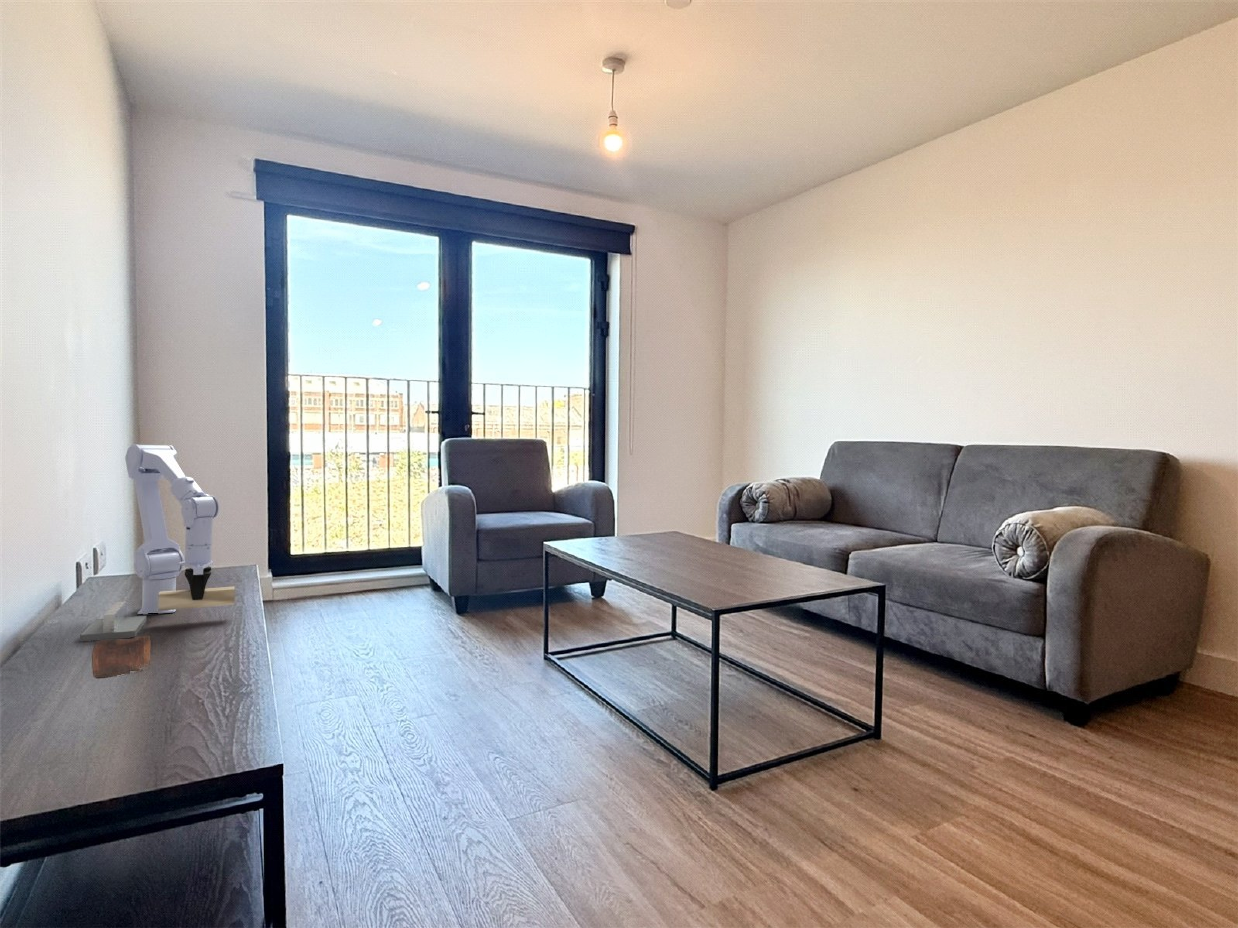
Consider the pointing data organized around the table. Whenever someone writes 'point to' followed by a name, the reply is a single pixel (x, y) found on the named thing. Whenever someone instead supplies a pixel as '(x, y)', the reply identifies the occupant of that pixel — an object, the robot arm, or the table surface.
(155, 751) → the table surface
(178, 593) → the maple bar
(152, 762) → the table surface
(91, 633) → the grey slab
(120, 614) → the steel ridge
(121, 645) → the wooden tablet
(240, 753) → the table surface
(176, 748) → the table surface
